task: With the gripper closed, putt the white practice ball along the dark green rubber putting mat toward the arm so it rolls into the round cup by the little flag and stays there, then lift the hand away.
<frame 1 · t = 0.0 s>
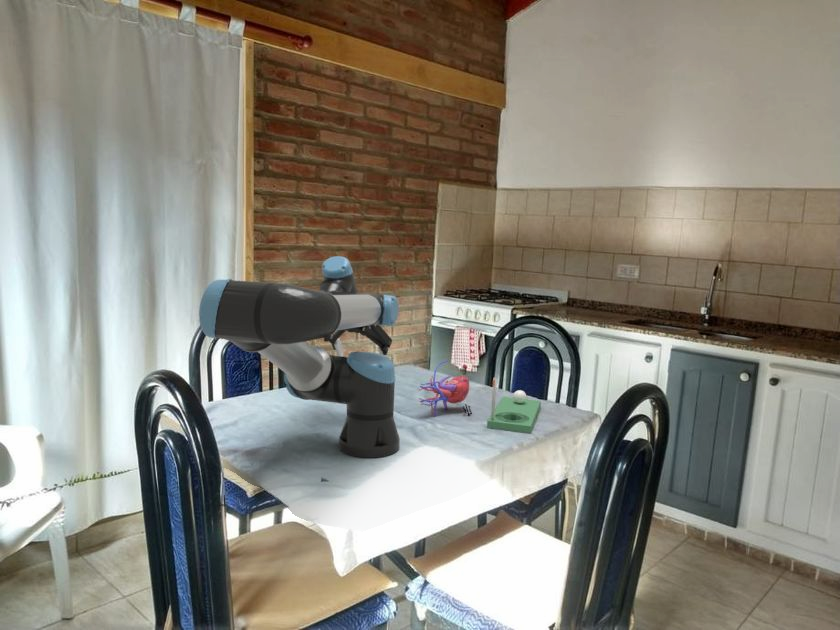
hand: (363, 358, 190), 15 cm above the table, tool tilted 35°, fingers open, 13 cm apart
heart model: (449, 413, 191), on the table
ball: (519, 396, 197), point 4 cm above the table, touching green
green: (515, 416, 190), on the table
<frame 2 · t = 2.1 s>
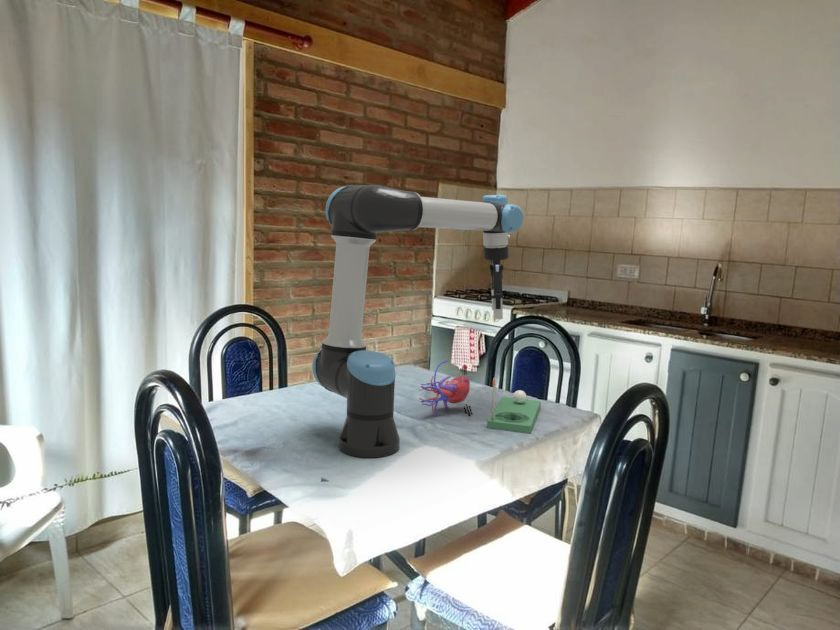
hand: (497, 314, 201), 28 cm above the table, tool pointing down, fingers open, 13 cm apart
nothing on the table moved.
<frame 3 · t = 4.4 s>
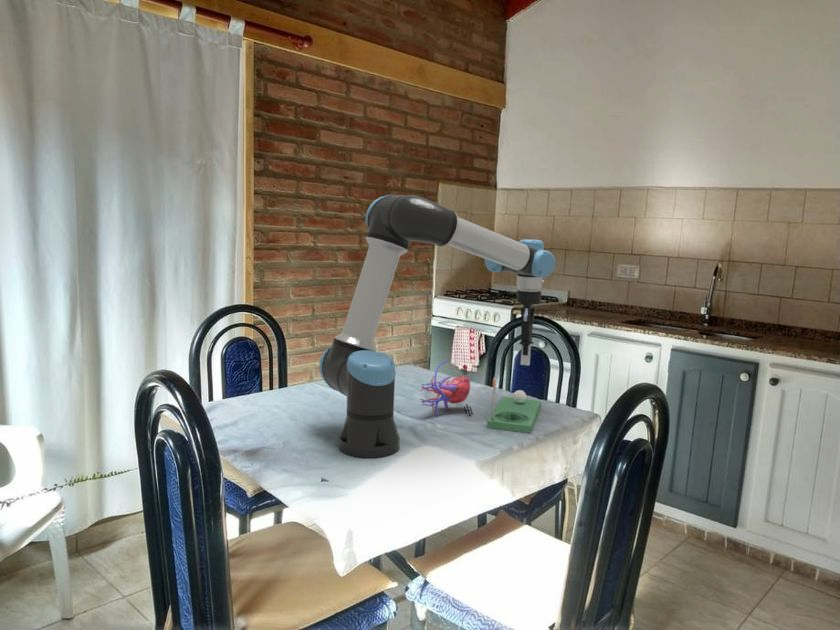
hand: (525, 364, 202), 13 cm above the table, tool pointing down, fingers closed
nothing on the table moved.
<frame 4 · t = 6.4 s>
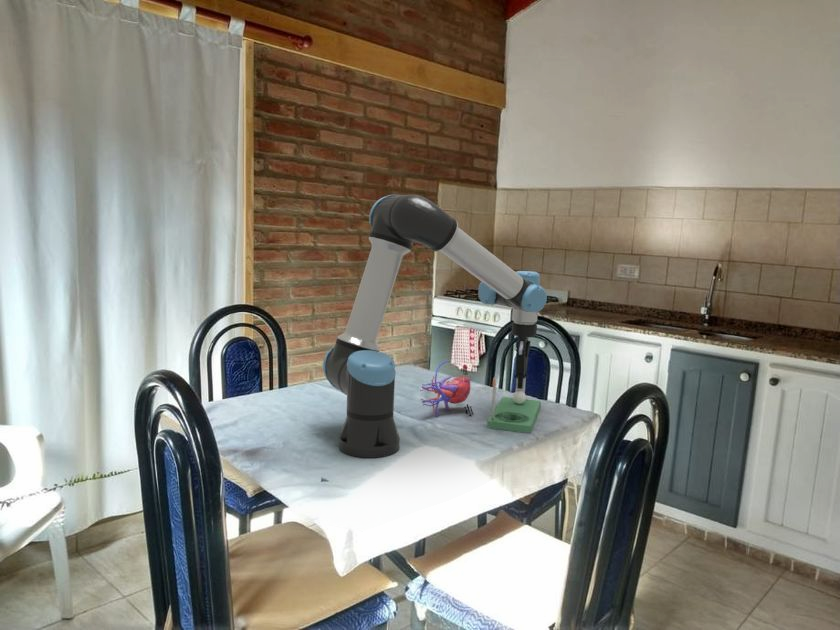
hand: (519, 397, 199), 3 cm above the table, tool pointing down, fingers closed
ball: (519, 397, 196), point 4 cm above the table, tilted 24°, touching green
everything else where it was.
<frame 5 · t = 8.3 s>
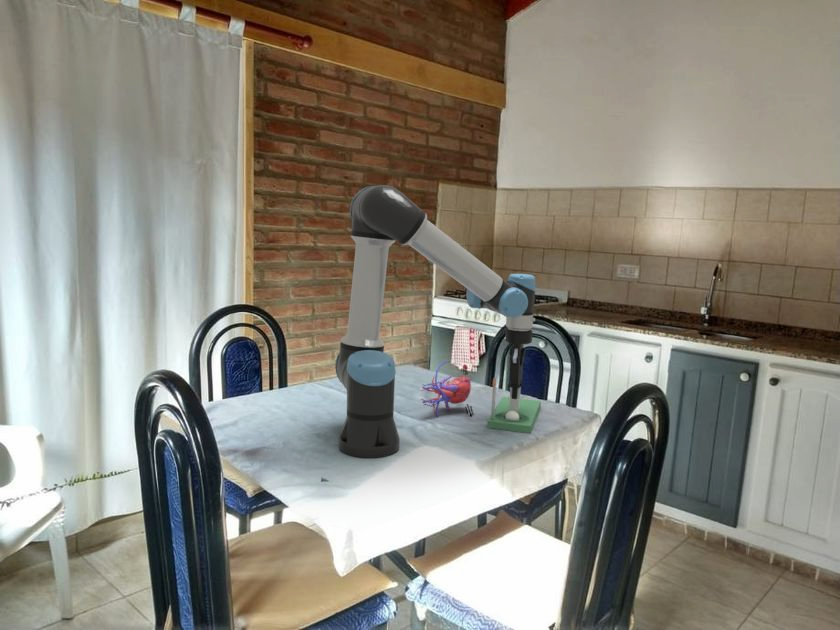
hand: (514, 408, 187), 3 cm above the table, tool pointing down, fingers closed
ball: (512, 417, 183), point 2 cm above the table, tilted 57°
everything else where it was.
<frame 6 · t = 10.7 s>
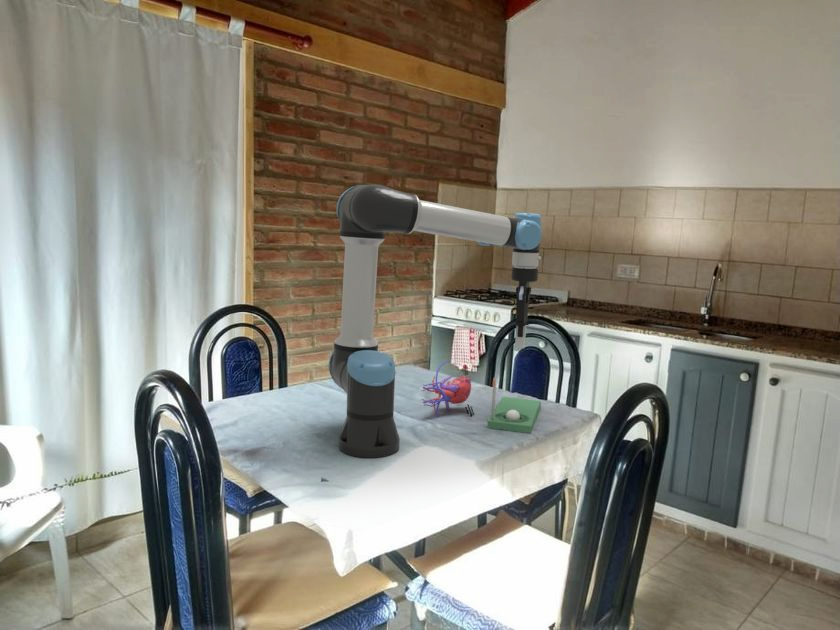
hand: (519, 347, 190), 20 cm above the table, tool pointing down, fingers closed
ball: (512, 416, 183), point 2 cm above the table, tilted 28°
everything else where it was.
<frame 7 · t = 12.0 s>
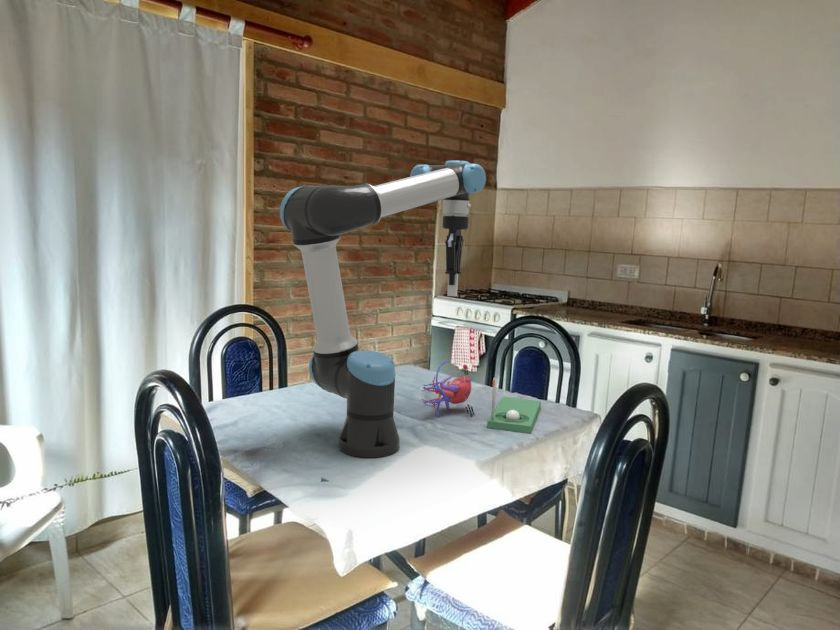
hand: (452, 295, 191), 34 cm above the table, tool pointing down, fingers closed
nothing on the table moved.
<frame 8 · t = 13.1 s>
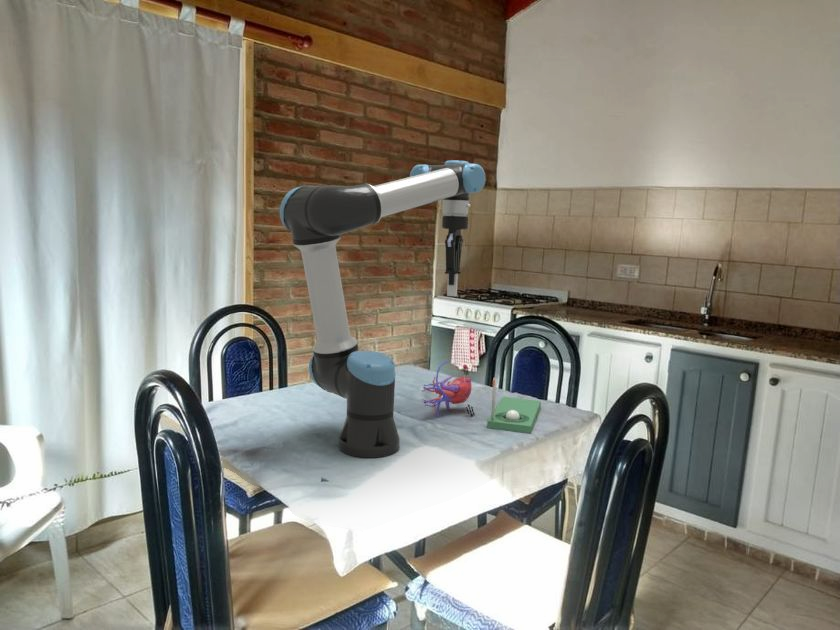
hand: (451, 295, 191), 34 cm above the table, tool pointing down, fingers closed
nothing on the table moved.
at the end: ball 0.3 cm from the target spot in the green, point 2.0 cm above the green's base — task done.
